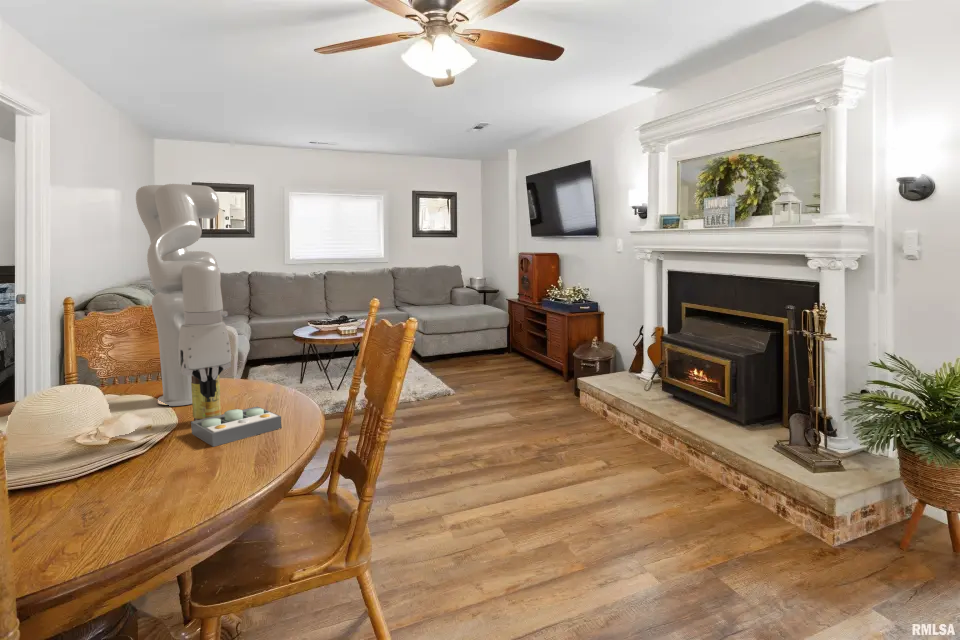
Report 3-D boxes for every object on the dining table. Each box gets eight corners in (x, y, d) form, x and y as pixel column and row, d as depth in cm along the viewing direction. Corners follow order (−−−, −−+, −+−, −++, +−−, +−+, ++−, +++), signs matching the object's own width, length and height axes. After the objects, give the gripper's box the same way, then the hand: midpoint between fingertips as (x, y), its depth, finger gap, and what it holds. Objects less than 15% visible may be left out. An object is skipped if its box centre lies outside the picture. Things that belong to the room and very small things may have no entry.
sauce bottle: (209, 427, 128) (204, 347, 126) (187, 425, 130) (181, 346, 127) (227, 418, 135) (222, 342, 132) (206, 417, 136) (200, 341, 133)
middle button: (222, 424, 126) (221, 412, 126) (238, 420, 129) (238, 408, 129) (229, 428, 124) (228, 415, 123) (246, 423, 127) (245, 411, 126)
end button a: (199, 433, 123) (198, 421, 122) (217, 429, 126) (216, 417, 125) (206, 437, 120) (205, 425, 120) (224, 433, 123) (223, 420, 123)
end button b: (244, 422, 130) (243, 411, 130) (259, 418, 133) (259, 407, 133) (251, 426, 128) (250, 414, 127) (267, 422, 131) (266, 410, 130)
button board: (191, 434, 124) (190, 420, 123) (258, 417, 136) (257, 405, 135) (213, 446, 116) (212, 432, 115) (281, 428, 128) (280, 414, 127)
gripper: (229, 313, 127) (233, 386, 130) (160, 319, 116) (167, 399, 119) (243, 316, 122) (247, 392, 125) (173, 324, 111) (179, 407, 114)
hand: (208, 395), depth 122 cm, fingers closed
